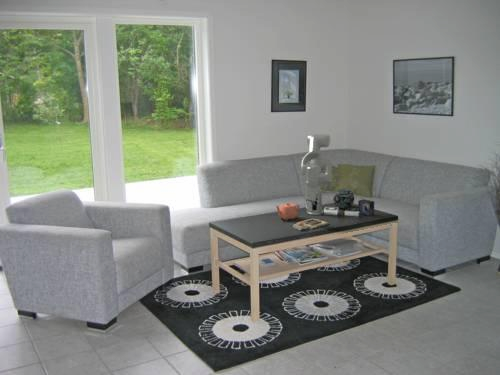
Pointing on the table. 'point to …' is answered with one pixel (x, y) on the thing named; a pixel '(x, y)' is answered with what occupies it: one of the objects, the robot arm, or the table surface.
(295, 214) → the teapot
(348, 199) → the decorative stone
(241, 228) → the table surface
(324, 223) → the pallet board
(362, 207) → the small box
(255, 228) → the table surface
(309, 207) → the metal billet
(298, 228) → the button housing
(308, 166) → the robot arm
